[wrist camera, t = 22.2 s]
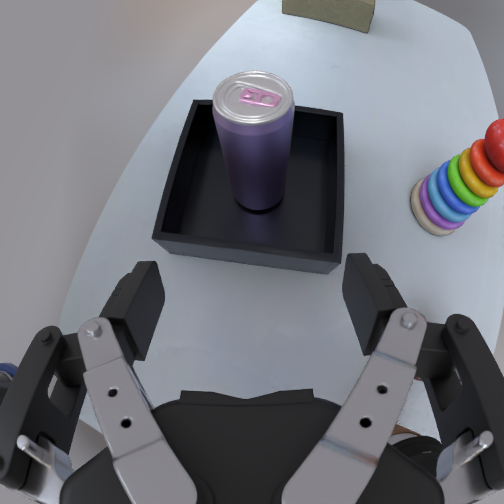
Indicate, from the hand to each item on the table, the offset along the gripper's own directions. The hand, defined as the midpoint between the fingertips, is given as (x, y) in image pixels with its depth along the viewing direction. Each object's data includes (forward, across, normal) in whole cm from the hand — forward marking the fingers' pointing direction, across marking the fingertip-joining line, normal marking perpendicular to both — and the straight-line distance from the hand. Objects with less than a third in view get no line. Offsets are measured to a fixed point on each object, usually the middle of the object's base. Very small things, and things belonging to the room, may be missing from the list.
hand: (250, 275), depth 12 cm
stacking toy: (+21, -23, +6) cm, 32 cm away
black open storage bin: (+22, 0, +4) cm, 23 cm away
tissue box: (+54, -18, -28) cm, 64 cm away
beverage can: (+22, 0, +4) cm, 22 cm away
